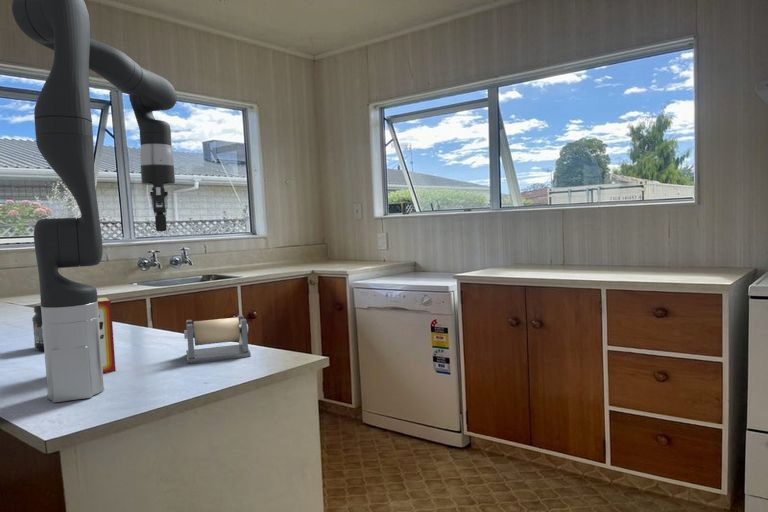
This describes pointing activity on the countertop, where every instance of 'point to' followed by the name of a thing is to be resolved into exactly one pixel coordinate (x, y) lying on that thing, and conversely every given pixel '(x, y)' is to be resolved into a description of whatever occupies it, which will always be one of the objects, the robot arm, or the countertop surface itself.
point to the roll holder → (218, 352)
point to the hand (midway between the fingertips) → (161, 231)
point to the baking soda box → (106, 334)
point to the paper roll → (216, 331)
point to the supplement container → (38, 328)
